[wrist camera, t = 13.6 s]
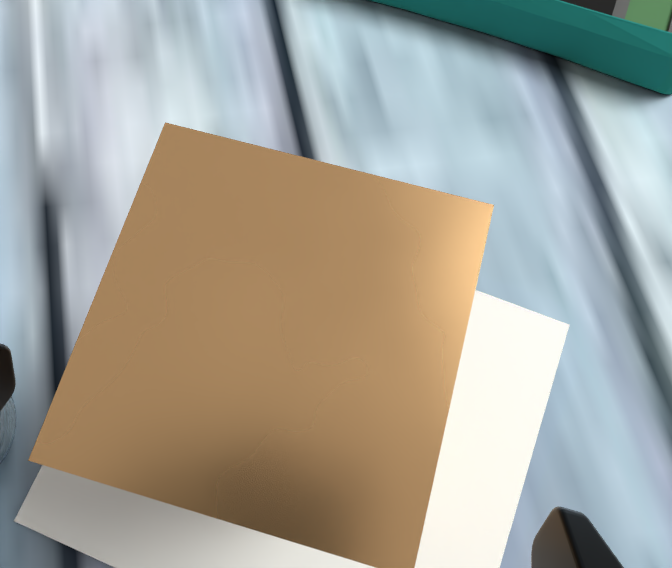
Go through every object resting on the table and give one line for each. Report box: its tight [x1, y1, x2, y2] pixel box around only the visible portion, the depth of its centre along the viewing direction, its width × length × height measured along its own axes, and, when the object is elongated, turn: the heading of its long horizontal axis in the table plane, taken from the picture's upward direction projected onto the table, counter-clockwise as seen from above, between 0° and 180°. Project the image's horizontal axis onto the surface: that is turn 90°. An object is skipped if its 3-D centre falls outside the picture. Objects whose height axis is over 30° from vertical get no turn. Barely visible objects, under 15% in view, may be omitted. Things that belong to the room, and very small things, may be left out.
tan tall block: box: [28, 123, 494, 568], centre depth 12 cm, size 4×4×11 cm
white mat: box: [14, 290, 569, 568], centre depth 17 cm, size 12×14×1 cm
